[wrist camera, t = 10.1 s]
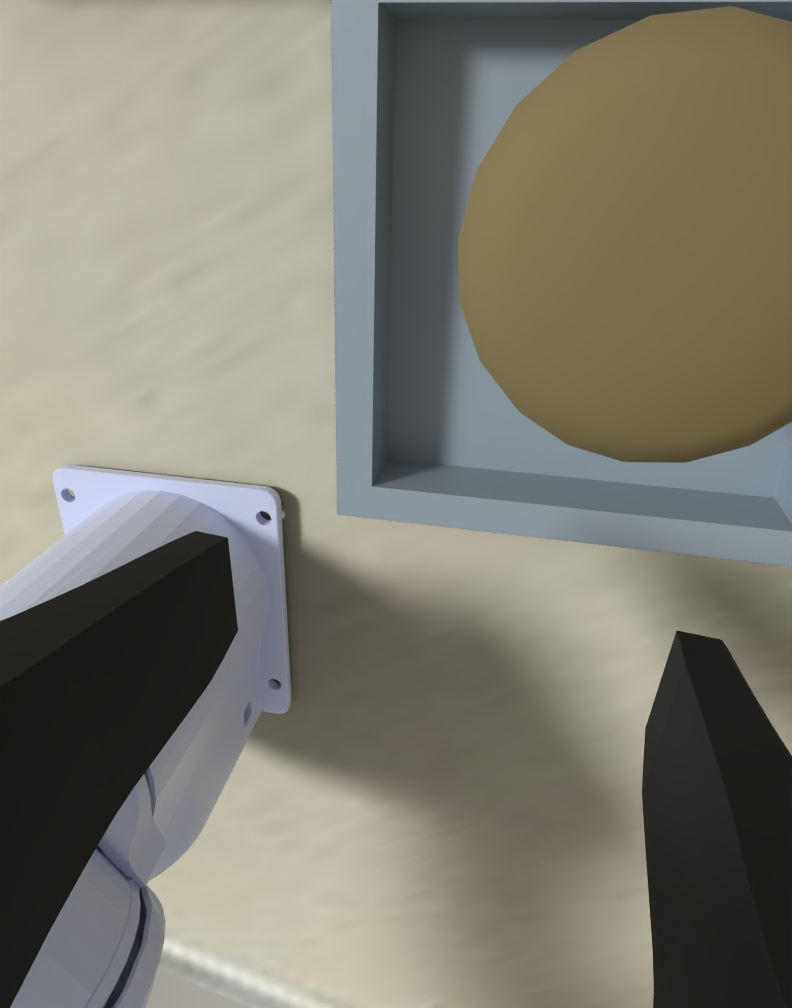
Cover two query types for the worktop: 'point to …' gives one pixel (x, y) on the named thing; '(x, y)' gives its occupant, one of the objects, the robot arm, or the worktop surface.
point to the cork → (643, 241)
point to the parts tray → (440, 320)
